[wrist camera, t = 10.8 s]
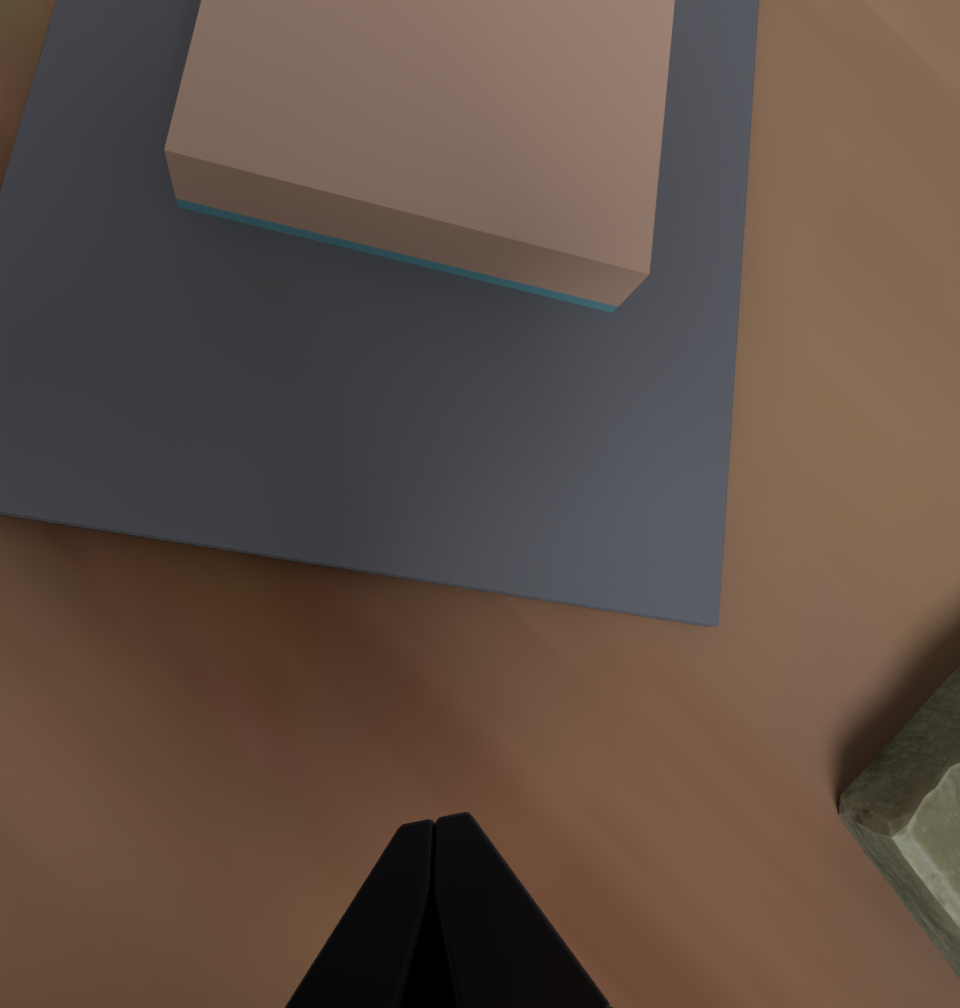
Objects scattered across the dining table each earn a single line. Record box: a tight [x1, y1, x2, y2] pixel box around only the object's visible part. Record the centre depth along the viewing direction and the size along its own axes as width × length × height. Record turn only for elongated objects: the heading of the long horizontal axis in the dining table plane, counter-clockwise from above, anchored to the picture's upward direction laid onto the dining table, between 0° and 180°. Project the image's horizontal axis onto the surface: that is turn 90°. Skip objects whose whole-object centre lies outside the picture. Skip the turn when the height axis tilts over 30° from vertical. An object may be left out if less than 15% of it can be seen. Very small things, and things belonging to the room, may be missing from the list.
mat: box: [0, 0, 759, 627], centre depth 22 cm, size 22×20×1 cm
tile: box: [164, 0, 675, 313], centre depth 21 cm, size 2×12×10 cm
